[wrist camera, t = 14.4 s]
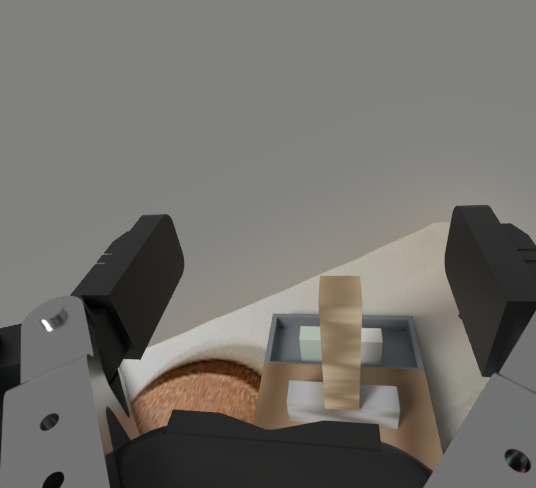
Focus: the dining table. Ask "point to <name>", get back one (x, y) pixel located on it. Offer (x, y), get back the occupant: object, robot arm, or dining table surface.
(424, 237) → the dining table surface
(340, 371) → the scraper
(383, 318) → the tray
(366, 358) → the tile
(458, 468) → the robot arm
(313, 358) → the tile
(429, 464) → the board
